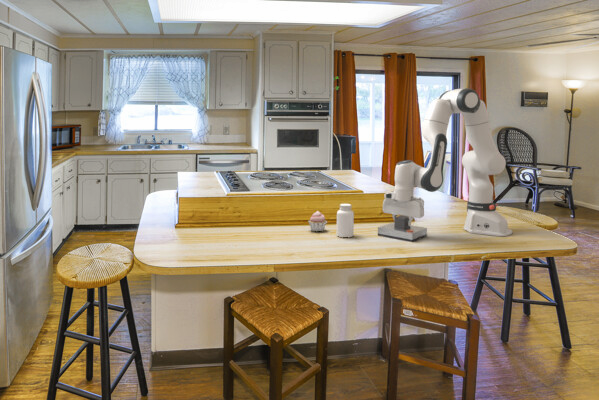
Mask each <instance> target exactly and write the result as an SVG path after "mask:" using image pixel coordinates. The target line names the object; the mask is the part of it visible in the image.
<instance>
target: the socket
mask: <svg viewBox="0 0 599 400" xmlns="http://www.w3.org/2000/svg"><path fill="white" fill-rule="evenodd" d="M427 235H428V228H427V227H424V226H423V227H422V226H419V225H418V226H417V225H412V224H411V226H410V228H407V229H405V230H403V229H398V228H394V222H390V223H386V224H384V225H380V226H378V227H377V236H378V237H383V238H389V239H395V240H400V241H405V242H410V243H413V242H416V241H418V240H421V239H423V238H426V237H427Z"/></svg>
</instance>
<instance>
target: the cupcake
mask: <svg viewBox="0 0 599 400" xmlns="http://www.w3.org/2000/svg"><path fill="white" fill-rule="evenodd" d="M307 222H308V223H309V227H310V231H311V230H312V231H311V232H313V231H323V232H324V231H325V228H326V225H327V224H328V221H327V220H326V218H325V215H324V213H321V212H320V211H319V210H316V212H314V213H313V214H312V215H311V217H309V220H308V221H307Z"/></svg>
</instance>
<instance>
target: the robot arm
mask: <svg viewBox="0 0 599 400" xmlns="http://www.w3.org/2000/svg"><path fill="white" fill-rule="evenodd" d="M453 114H462V117H463V120H464V128H465V134H466V141H467V142H468V143H469V145H470V146H471V147H472V150H469V151H466V152H465V153H464V154H463V156H462V157H461V164H462V167H463V168H464V169H465V171H466V176H467V179H468V180H467V181H468V200H467V205H466V217H465V222H464V225H463V228H462V229H463V230H464V231H467V232H468V233H470V234H477V235H478V234H479V235H486V236H496V237H508V236H510V235H512V234H513V230H512V229H509V226H508V225H509V224H508V220H507V219H506V218H505V217H504V216H503V215H502V214H501V213H499V212H498V211H497V207H498V204H497V203H496V204H495V203H494V202H493V199H494V198H493V197H494V185H493V183H492V182H491V179H490V176H493V175H494V176H495V175H499V174H501V173H502V172H503V171H504V170H505V168H506V165H507V164H506V158H505V157H504V155H502V154H501V153H500V151H499V150H498V148H497V145H496V144H495V141H494V139H493V135H492V128H491V123H490V117H489V113H488V108H487V106H486V103H485V101H483V100H482V99H480V96H479V93H477V91H476V90H474V89H472V88H468V87H467V88H455V89H451V90H446V91H444V92H443V93H442V94H440V96H439V97H438V98H436V99H433V100H432V101H431V102H430V104H429V106H428V109H427V111H426V114H425V116H424V120H423V123H422V127H421V128H422V129H421V134H422V136H423V138H424V139H425V140H426V142H427V143H429V144H430V146H431V154H430V160H429V165H428V167H423V166H421V165H419V164H417V163H415V162H414V161H413V160H411V159H407V160H401V161H399V162H397V163H396V165H395V169H394V188H393V191H391V192H386V193H384V195H383V196H384V199H383V202H382V212H383V213H384V214H391V216H392V219H393V220H394V224H395V217H398V216H401V215H402V216H408V217H409V219H410V220H409V221H408V222H406V225H407V226H411V225H412V223H413V220H414V219H415V218H416V219H422V218H424V216H425V207H424V206H425V201H424V199H423V198H422V197H416V196H414V192H415V191H414V188H418V189H423V190H424V191H427V192H431V193H435V192H437V191H438V190H439V189H441V187H442V186H443V183H444V166H445V160H446V154H447V147H448V139H447V133H448V132H447V131H448V127H449V123H450V119H451V117H452V115H453Z"/></svg>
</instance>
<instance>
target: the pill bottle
mask: <svg viewBox="0 0 599 400" xmlns="http://www.w3.org/2000/svg"><path fill="white" fill-rule="evenodd" d="M354 218H355V213H354V210H352V204H351V203H340V204H339V210H337V212H336V236H337V237H338V236H339V237H338V238H343V237H348V238H351V237H354V231H355V230H354V226H355V225H354V224H355V223H354V222H355V219H354Z"/></svg>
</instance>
